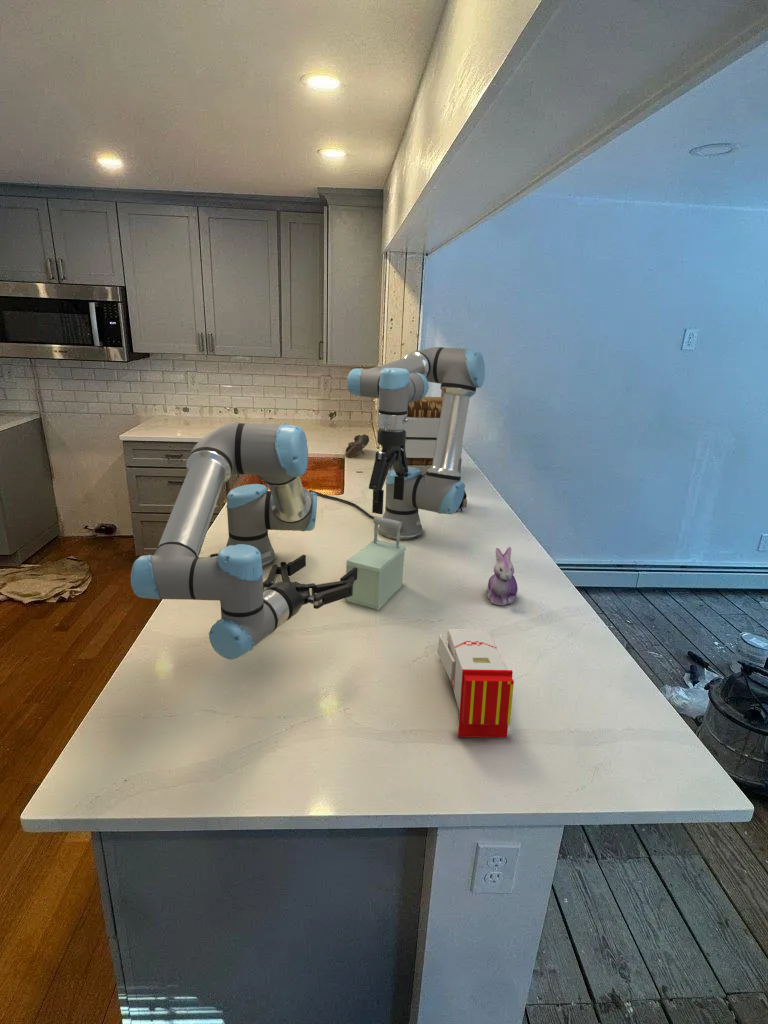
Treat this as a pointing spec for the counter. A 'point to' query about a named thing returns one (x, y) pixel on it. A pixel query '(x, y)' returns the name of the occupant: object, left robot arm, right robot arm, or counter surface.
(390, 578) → the chest
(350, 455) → the fossil
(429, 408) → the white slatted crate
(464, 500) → the figurine character
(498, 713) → the toy
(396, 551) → the lid
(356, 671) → the counter surface
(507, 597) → the figurine
